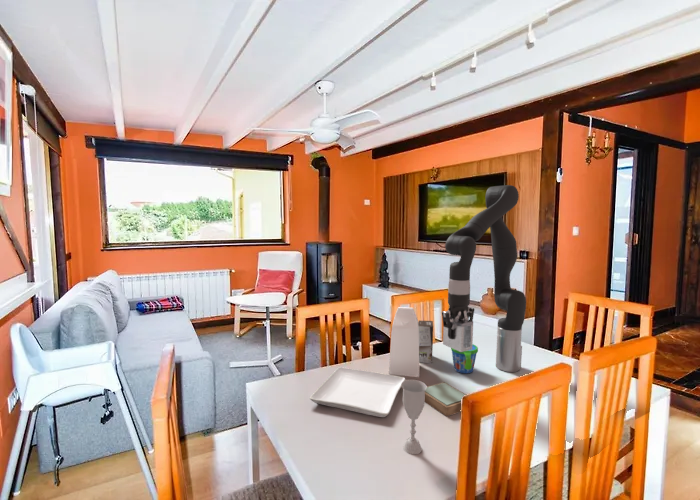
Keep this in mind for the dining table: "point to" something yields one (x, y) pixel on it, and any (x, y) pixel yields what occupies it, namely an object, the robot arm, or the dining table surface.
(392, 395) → the square plate
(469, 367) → the snack cup
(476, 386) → the dining table surface
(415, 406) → the chalice
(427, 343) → the coffee box
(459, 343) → the housing
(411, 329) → the milk
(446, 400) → the wooden tray
